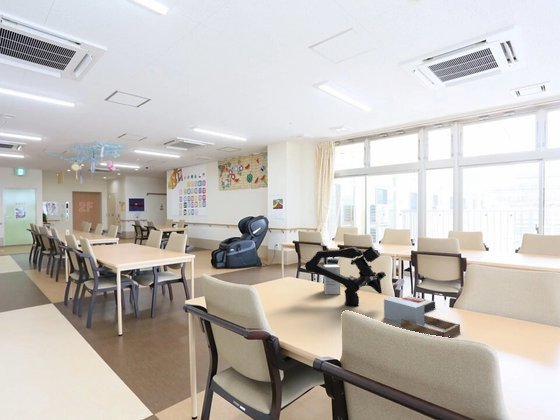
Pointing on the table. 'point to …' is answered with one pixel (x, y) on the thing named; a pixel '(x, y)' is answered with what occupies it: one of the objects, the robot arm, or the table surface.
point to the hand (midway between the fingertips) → (380, 293)
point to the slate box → (403, 310)
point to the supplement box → (331, 281)
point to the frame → (450, 328)
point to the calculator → (427, 303)
